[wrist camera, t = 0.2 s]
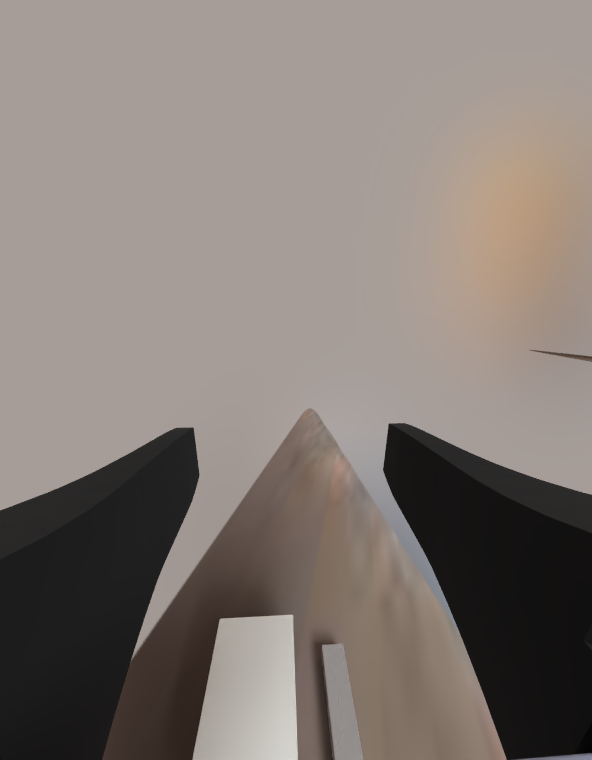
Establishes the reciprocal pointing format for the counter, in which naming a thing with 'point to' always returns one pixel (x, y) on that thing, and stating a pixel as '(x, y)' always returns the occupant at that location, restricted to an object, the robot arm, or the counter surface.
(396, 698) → the counter surface
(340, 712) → the rail
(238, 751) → the cabinet block
